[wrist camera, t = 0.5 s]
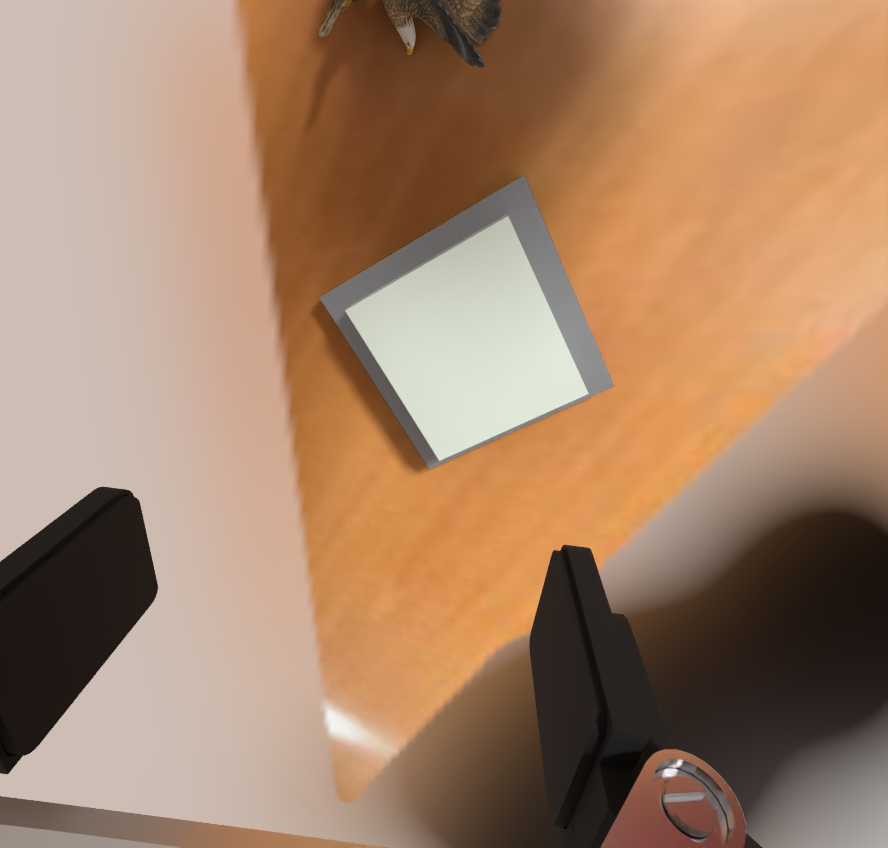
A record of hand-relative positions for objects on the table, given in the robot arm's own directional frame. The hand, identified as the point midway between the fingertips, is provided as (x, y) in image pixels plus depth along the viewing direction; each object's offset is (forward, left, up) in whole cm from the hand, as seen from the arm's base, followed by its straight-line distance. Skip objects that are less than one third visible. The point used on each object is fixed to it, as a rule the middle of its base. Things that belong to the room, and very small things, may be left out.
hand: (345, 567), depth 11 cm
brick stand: (-1, +3, -28) cm, 28 cm away
